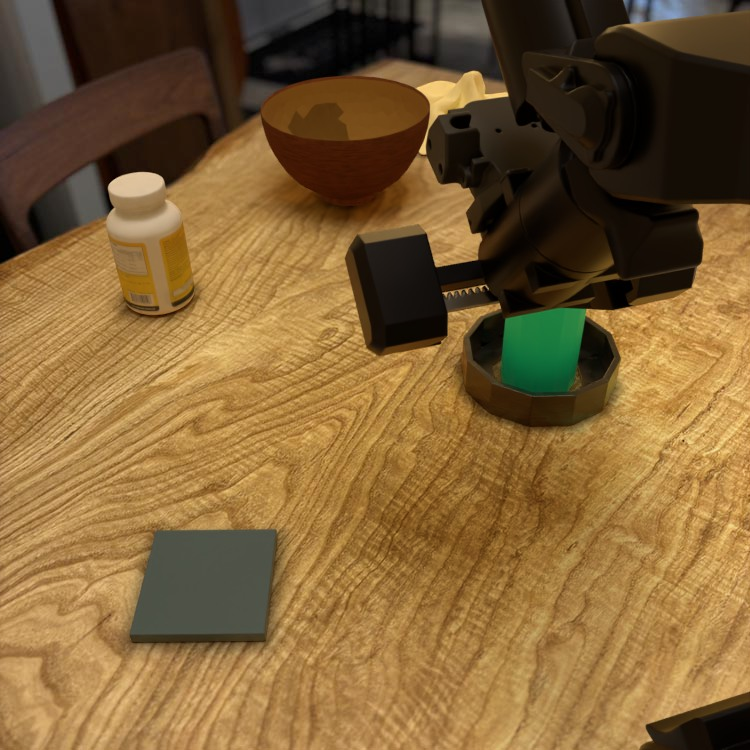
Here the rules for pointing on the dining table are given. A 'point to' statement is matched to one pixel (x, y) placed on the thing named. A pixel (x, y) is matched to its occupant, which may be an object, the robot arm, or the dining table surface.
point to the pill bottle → (149, 245)
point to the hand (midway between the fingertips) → (478, 311)
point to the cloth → (453, 96)
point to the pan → (539, 406)
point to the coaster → (206, 586)
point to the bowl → (346, 134)
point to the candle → (542, 349)
